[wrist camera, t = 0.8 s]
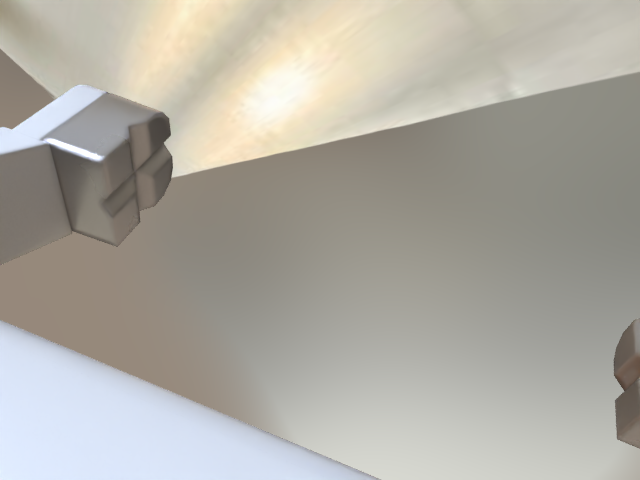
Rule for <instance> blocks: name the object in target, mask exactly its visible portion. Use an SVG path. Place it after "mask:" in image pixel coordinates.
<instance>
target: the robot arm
mask: <svg viewBox="0 0 640 480" xmlns="http://www.w3.org/2000/svg"><path fill="white" fill-rule="evenodd" d="M170 135H171V132H170V123H169V118H168V117H167V116H166V115H165V114H164V113H163V112H161V111H158V110H155V109H153V108H150V107H147V106H144V105H142V104H139V103H136V102H134V101H131V100H128V99H125V98H123V97H120V96H117V95H114V94H110V93H108V92H105V91H102V90H100V89H97V88H94V87H91V86H88V85H76V86H75V87H73V88H72V89H70V90H69V91H67V92H66V93H65V94H63V95H62V96H60V97H59V98H57V99H56V100H54V101H53V102H51V103H50V104H49V105H47V106H46V107H44V108H43V109H41V110H40V111H38V112H37V113H35V114H34V115H33V116H31V117H30V118H28V119H27V120H25V121H24V122H22V123H21V124H19V125H18V126H17V127H15V128H14V129H12V130H11V129H8V128H5V127H1V128H0V265H2V264H4V263H6V262H8V261H10V260H13V259H15V258H18V257H20V256H22V255H24V254H27V253H29V252H31V251H34V250H36V249H38V248H40V247H43V246H45V245H47V244H49V243H52V242H54V241H56V240H58V239H61V238H63V237H66V236H68V235H70V234H72V231H74V232H77V233H80V234H82V235H85V236H88V237H91V238H94V239H97V240H99V241H102V242H105V243H108V244H111V245H114V246H116V247H118V246H119V245H120V244H121V242H122V241H123V240H124V239H125V238H126V237H127V236H128V235H129V234H130V233H131V232H132V230H133V229H134V228H135V227H136V226H137V225H138V224H139V223H140V212H139V211H141V210H144V209H147V208H150V207H153V206H155V205H156V204H157V203H158V202H159V200H160V199H161V198H162V197H163V196H164V194H165V192H166V189H167V187H168V185H169V183H170V181H171V175H172V169H173V163H172V155H171V154H170V152H169V151H168V149H167V148H166V146H165V145H164V142H165V141H166V140H167V139H168V138H169V137H170ZM614 376H615V378H616V379H617V381H618V382H619V384H620V385H621V387H622V388H623V389H624V393H622V394H621V395H620V396H619V397H618V398H617V399H616V400H615V409H616V427H617V439H618V440H620V441H623V442H625V443H628V444H630V445H632V446H635V447H637V448H640V318H639V319H636V320H634V321H633V322H632V323H631V325H630V326H629V327H628V328H627V329H626V330H625V331H624V333H623V334H622V337H621V339H620V341H619V343H618V345H617V348H616V352H615V358H614ZM0 480H380V479H378V478H376V477H373V476H371V475H369V474H366V473H364V472H361V471H359V470H357V469H354V468H352V467H350V466H347V465H345V464H342V463H340V462H338V461H335V460H333V459H331V458H328V457H326V456H323V455H321V454H318V453H316V452H314V451H311V450H309V449H307V448H304V447H302V446H299V445H297V444H295V443H292V442H290V441H288V440H285V439H283V438H280V437H278V436H275V435H273V434H271V433H268V432H266V431H263V430H261V429H259V428H257V427H254V426H252V425H249V424H247V423H244V422H242V421H240V420H237V419H235V418H233V417H230V416H228V415H225V414H223V413H221V412H218V411H216V410H214V409H211V408H209V407H206V406H204V405H201V404H199V403H197V402H195V401H192V400H190V399H187V398H185V397H183V396H180V395H178V394H175V393H173V392H171V391H168V390H166V389H164V388H161V387H158V386H156V385H154V384H152V383H149V382H147V381H144V380H142V379H140V378H137V377H135V376H132V375H130V374H128V373H125V372H123V371H121V370H118V369H116V368H114V367H111V366H109V365H106V364H104V363H102V362H99V361H97V360H94V359H92V358H89V357H87V356H85V355H83V354H80V353H78V352H75V351H73V350H71V349H68V348H66V347H63V346H61V345H59V344H56V343H54V342H52V341H49V340H47V339H44V338H42V337H40V336H37V335H35V334H33V333H30V332H27V331H25V330H23V329H21V328H18V327H16V326H14V325H11V324H9V323H6V322H4V321H2V320H0Z"/></svg>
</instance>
